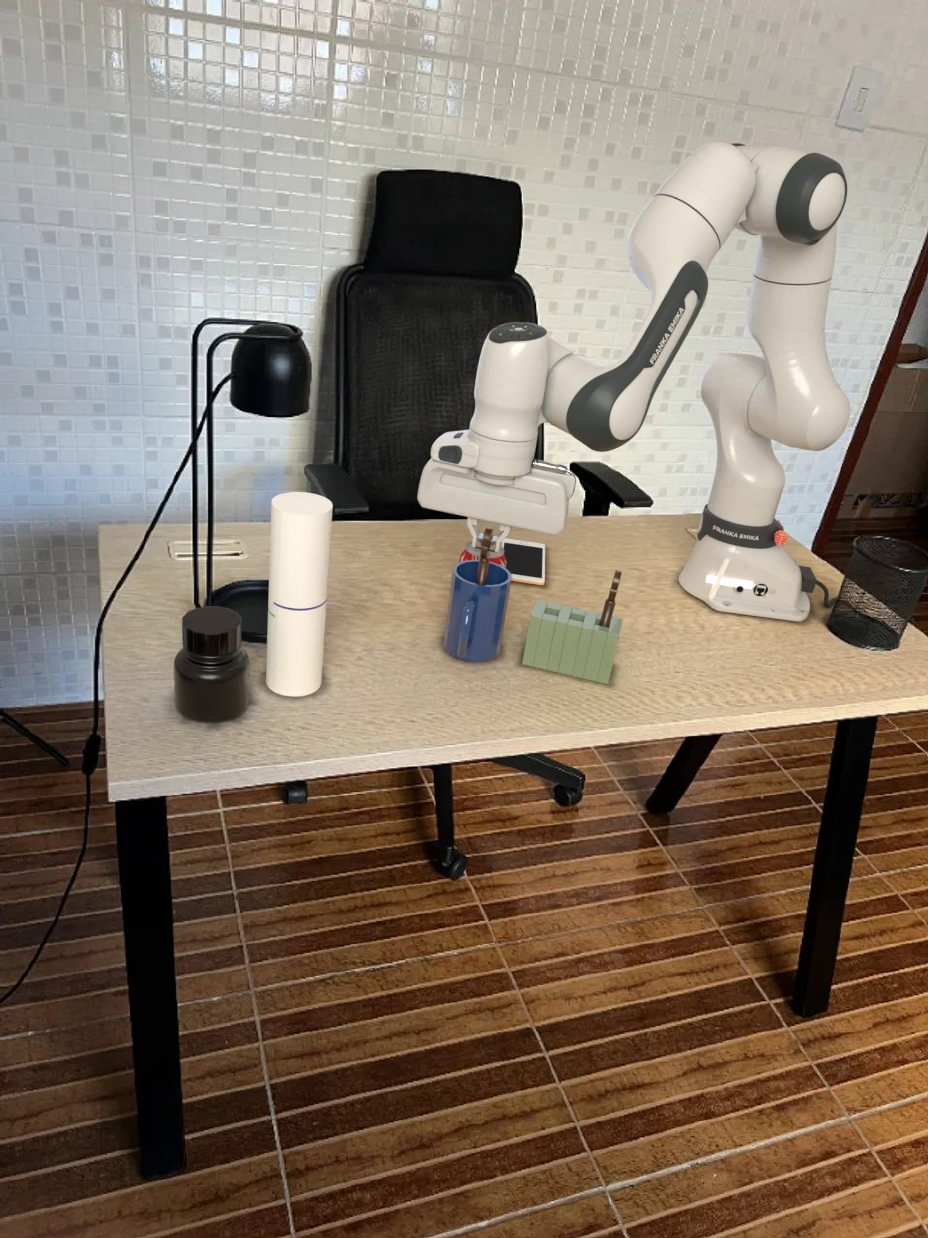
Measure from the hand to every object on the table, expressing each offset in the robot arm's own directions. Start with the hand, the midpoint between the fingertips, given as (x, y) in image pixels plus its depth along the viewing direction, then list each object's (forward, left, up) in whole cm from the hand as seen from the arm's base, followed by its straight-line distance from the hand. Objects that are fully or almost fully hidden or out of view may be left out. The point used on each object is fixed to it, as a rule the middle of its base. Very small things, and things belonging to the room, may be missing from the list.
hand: (486, 548), depth 130 cm
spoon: (0, 0, -13) cm, 13 cm away
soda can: (+1, -8, -15) cm, 17 cm away
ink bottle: (+27, +28, -16) cm, 42 cm away
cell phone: (-1, -32, -16) cm, 36 cm away
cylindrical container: (+20, +19, -16) cm, 32 cm away
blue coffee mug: (0, +2, -16) cm, 16 cm away
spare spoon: (-18, -1, -16) cm, 24 cm away
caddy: (-14, -1, -16) cm, 21 cm away
